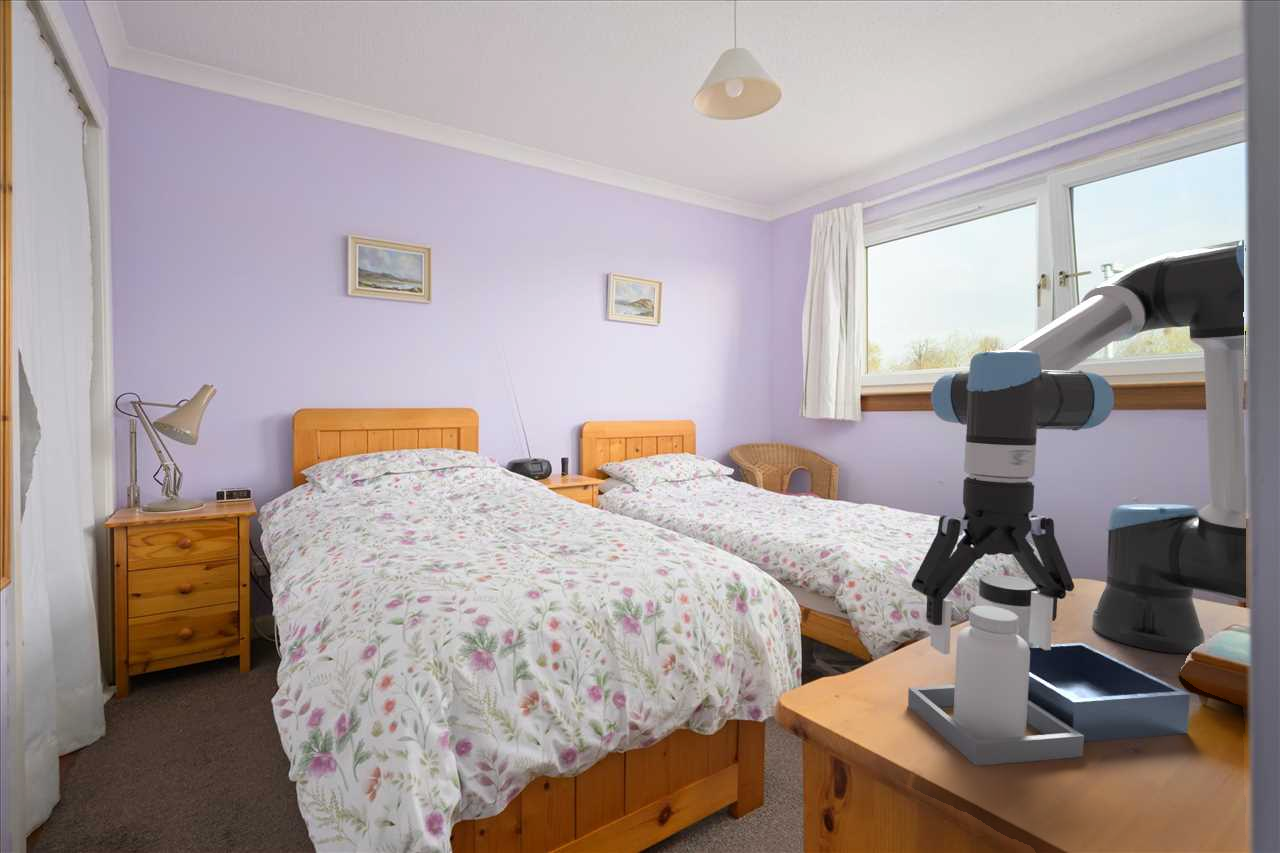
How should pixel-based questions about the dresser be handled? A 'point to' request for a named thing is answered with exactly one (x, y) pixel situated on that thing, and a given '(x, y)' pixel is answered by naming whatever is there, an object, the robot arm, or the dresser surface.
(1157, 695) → the bin
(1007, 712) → the pill bottle
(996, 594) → the jar
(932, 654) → the dresser surface
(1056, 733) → the frame
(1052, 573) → the robot arm
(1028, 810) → the dresser surface
